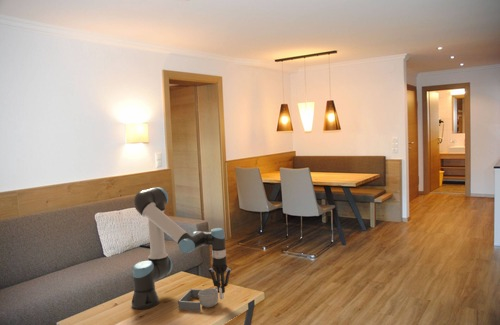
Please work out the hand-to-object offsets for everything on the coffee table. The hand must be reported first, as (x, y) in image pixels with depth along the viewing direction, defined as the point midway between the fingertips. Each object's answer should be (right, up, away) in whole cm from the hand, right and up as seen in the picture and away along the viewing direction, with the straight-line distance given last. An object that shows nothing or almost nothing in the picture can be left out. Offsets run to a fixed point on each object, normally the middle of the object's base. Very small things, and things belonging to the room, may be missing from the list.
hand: (221, 298), depth 225 cm
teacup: (-6, -4, +2) cm, 8 cm away
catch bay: (-15, -4, +4) cm, 16 cm away
